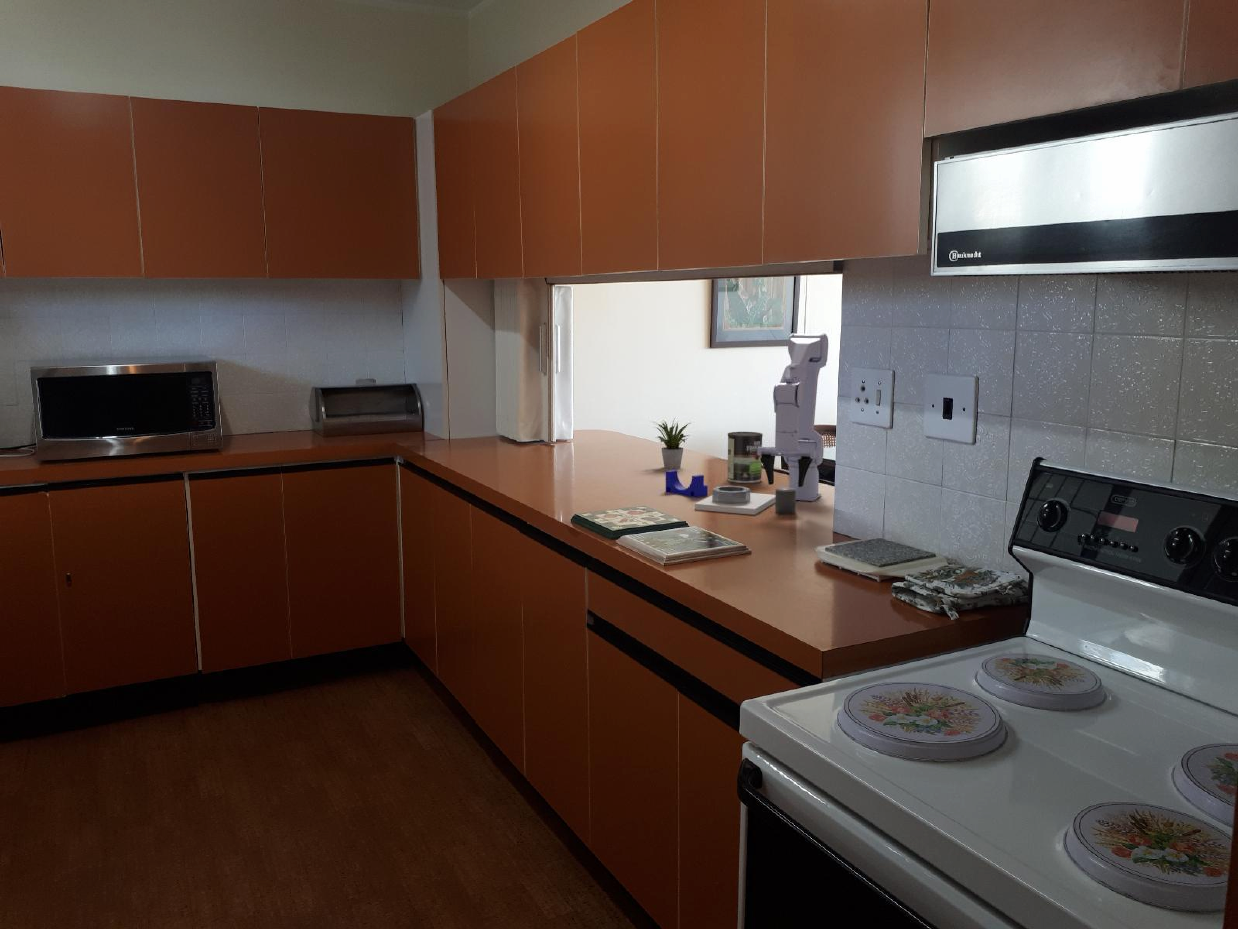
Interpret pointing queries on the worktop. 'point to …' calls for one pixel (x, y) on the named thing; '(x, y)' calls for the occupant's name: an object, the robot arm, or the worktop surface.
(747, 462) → the coffee can
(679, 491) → the blue u-shaped cradle block
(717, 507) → the socket board
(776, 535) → the worktop surface
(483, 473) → the worktop surface
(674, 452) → the house plant
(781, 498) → the dark gray cylinder
